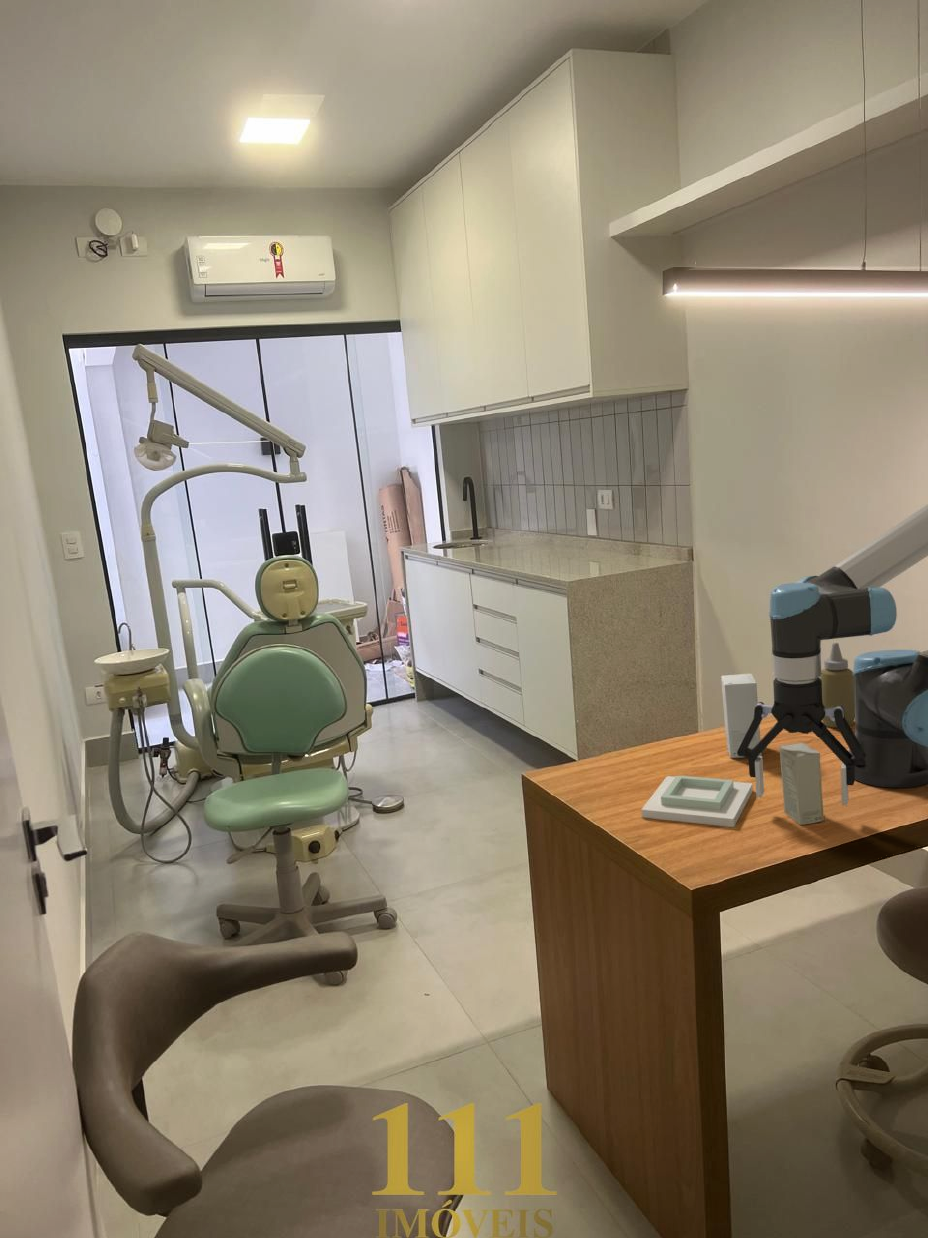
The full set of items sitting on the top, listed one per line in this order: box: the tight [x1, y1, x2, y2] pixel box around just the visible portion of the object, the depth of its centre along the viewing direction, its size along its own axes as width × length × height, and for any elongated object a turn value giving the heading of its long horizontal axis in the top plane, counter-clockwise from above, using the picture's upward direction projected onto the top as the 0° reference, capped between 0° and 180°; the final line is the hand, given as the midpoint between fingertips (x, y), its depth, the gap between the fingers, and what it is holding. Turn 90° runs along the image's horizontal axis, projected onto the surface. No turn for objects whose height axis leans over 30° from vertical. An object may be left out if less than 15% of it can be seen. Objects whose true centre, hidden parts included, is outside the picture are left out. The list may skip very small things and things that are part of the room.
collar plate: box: [641, 775, 754, 828], centre depth 162 cm, size 16×16×3 cm
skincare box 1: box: [720, 673, 763, 759], centre depth 183 cm, size 8×7×16 cm
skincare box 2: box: [779, 742, 825, 826], centre depth 151 cm, size 6×4×12 cm
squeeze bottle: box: [819, 642, 855, 729], centre depth 192 cm, size 8×8×18 cm
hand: (801, 798), depth 152 cm, fingers open, 13 cm apart
